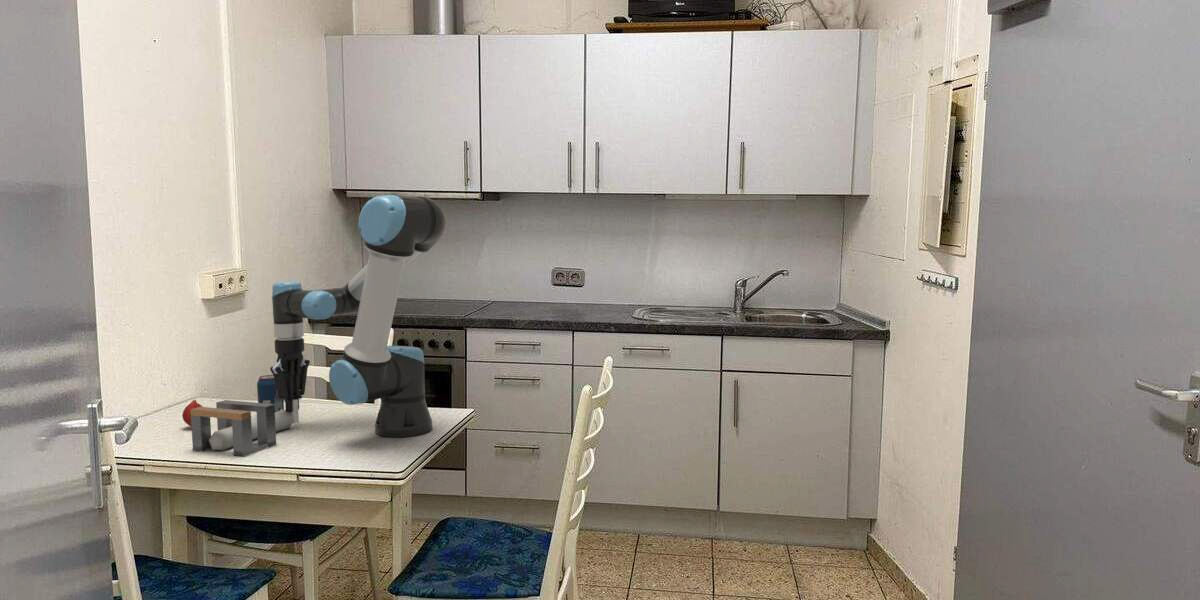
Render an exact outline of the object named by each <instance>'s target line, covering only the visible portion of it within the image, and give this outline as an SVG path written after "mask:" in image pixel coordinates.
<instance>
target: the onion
mask: <svg viewBox="0 0 1200 600" xmlns="http://www.w3.org/2000/svg"><path fill="white" fill-rule="evenodd" d="M197 407H204V406H203V405H202V404H200V403H198V402H197V400H196V399H192V401H190V403H189V404H188V405H187V406H185V408H184V409H183V411H182V420H183V421H184V423H185V424H186V425H188V426H189V427H191V428H192V426H191V409H194V408H197Z"/></svg>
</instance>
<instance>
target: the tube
mask: <svg viewBox="0 0 1200 600" xmlns="http://www.w3.org/2000/svg"><path fill="white" fill-rule="evenodd" d="M292 425H293V415H292V414H291V413H290V412H286V409H284V410H280V411H278V412H275V426H276V433H277V432H280V431H282V430H286V429H288V428H289V429H290V428H291V427H292ZM251 427H252V441H254V439H255V440H257V439H258V431H257V417H256V418H253V419H251ZM256 438H257V439H256ZM209 442H210V445H211V447H212V450H214V451H222V452H223V451H226V450H228V449H233V431H232V426H231V427H228V428H225V429H222V430H219V431H218V430H215V431H214V432H213V433H212V434H211V437H210V439H209Z"/></svg>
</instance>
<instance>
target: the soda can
mask: <svg viewBox="0 0 1200 600" xmlns="http://www.w3.org/2000/svg"><path fill="white" fill-rule="evenodd" d="M256 387H257V403H266V404H274V405H275V412H278V411H280V410H285V400H282V399H279V397H278V392H277V388H276V384H275V380H274V376H273V374H267V375H261V376H259V377H258V381H257V383H256Z"/></svg>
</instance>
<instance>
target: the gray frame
mask: <svg viewBox="0 0 1200 600" xmlns="http://www.w3.org/2000/svg"><path fill="white" fill-rule="evenodd" d="M215 405H216V406H215V407H207V406H203V407H197V408H194V409H191V426H192V427H191V426H190V427H191V438H192V439H191V440H192V444H191V445H192V451H193V450H195V451H194V452H199V451H203V452H206V451H210V450H211V449H212V447H211V445H210V442H209V439H210V437H211V436H212V429H211V424H212V423H211V418H214V419H216V423H217V431H219V430H222V429H225V428H228V427H231V426H232V431H233V447H232V449H233V456H234V457H235V456H236V457H242V456H243V457H246V455H247V456H249V454H250V455H252V454H255V453H257V451H258V452H260V451H259V450H261V451H263V450H265V448H266V449H268V448H267V447H269V448H271V447H270V446H272V447H274V446H276V445H277V432H276V426H275V405H274V404H266V403H258V402H251V401H241V400H229V399H224V400H220V401H216V404H215ZM251 412H254V413H256V418H257V431H258V438H257V442H254V443H253V440H252V427H251V420H252V413H251ZM275 444H276V445H275ZM273 445H274V446H273ZM262 449H263V450H262ZM205 450H206V451H205ZM212 450H213V449H212ZM254 452H255V453H254ZM251 453H252V454H251Z"/></svg>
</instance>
